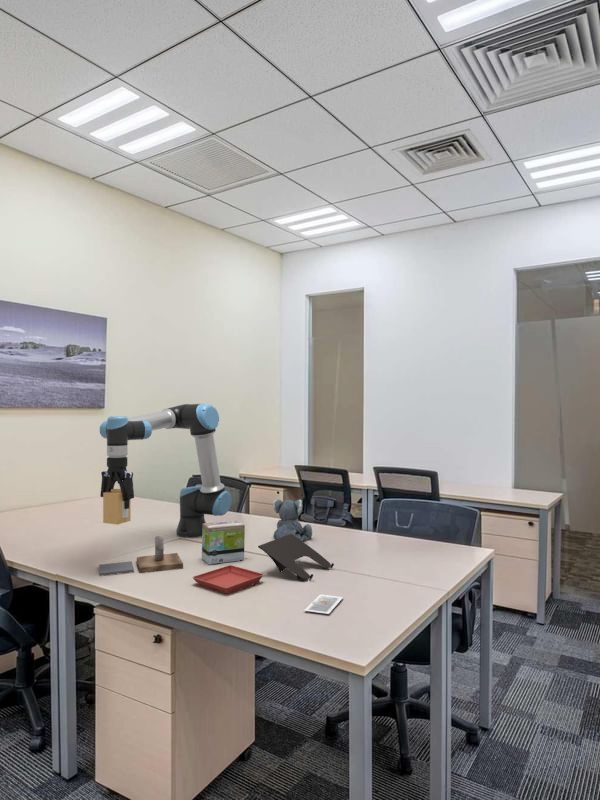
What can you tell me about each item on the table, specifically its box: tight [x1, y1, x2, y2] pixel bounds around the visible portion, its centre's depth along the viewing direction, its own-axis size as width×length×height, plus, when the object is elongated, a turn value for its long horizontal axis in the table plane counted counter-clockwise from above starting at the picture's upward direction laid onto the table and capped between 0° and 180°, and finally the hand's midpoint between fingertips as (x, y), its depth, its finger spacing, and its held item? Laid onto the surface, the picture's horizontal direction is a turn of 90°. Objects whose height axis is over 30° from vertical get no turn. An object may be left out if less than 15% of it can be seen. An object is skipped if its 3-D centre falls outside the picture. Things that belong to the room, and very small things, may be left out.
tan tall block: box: [102, 488, 132, 525], centre depth 206 cm, size 7×7×12 cm
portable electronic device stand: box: [257, 534, 335, 582], centre depth 204 cm, size 23×23×9 cm
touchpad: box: [303, 593, 344, 615], centre depth 168 cm, size 8×15×2 cm, turn 159°
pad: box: [99, 561, 135, 576], centre depth 206 cm, size 12×12×1 cm
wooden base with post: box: [136, 535, 184, 574], centre depth 212 cm, size 16×16×11 cm
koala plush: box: [272, 498, 313, 542], centre depth 251 cm, size 17×18×20 cm
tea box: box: [201, 520, 246, 566], centre depth 219 cm, size 15×10×15 cm
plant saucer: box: [192, 565, 265, 595], centre depth 189 cm, size 18×18×3 cm
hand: (117, 516), depth 206 cm, fingers closed on tan tall block, 7 cm apart
